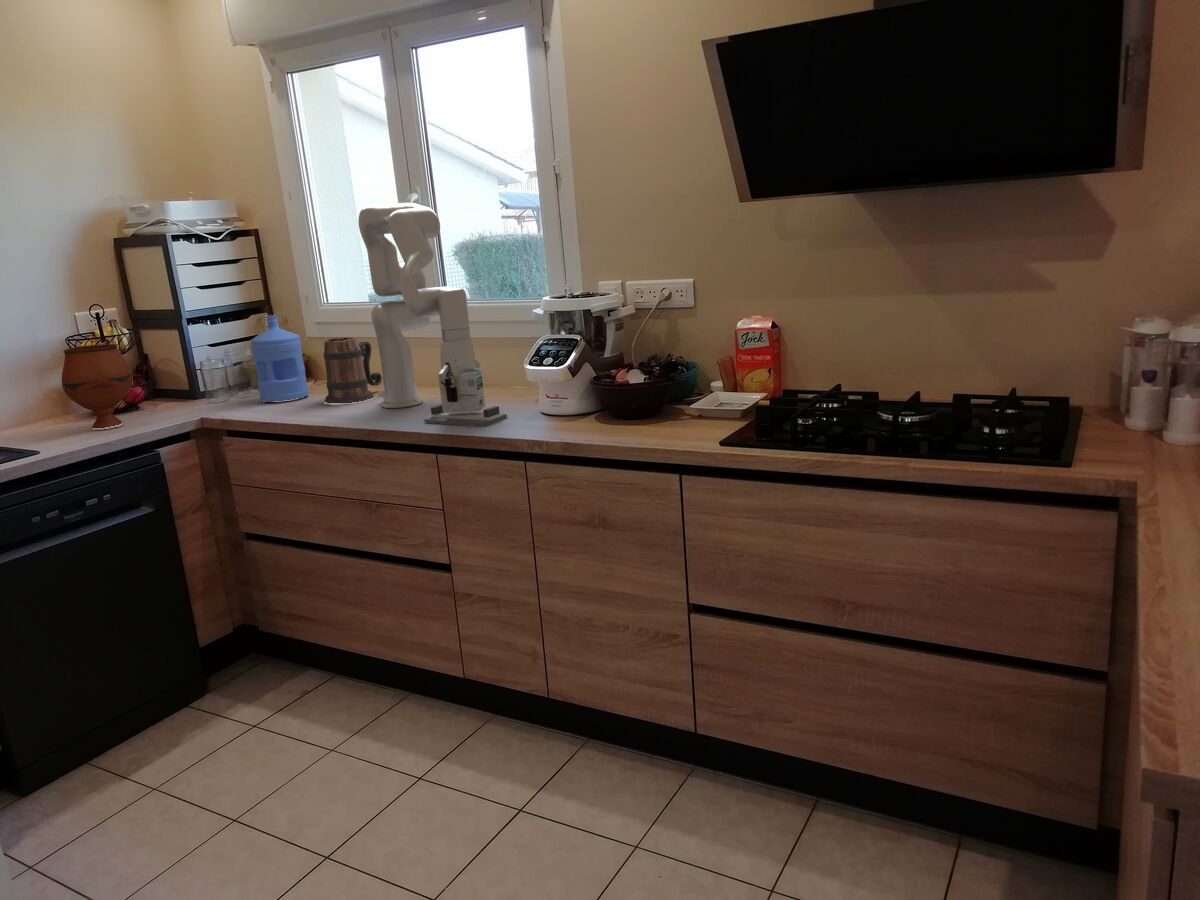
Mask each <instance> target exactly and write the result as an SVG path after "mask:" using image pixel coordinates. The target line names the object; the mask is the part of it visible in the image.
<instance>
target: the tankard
mask: <svg viewBox="0 0 1200 900" xmlns="http://www.w3.org/2000/svg"><path fill="white" fill-rule="evenodd" d="M371 357H372V345H371V344H370V342H369V341H360V342H359V341H358V338H357V337H342V338H340V337H339V338H336V337H335V338H329V339H326V340H324V349H323V359H324V364H325V374H326V383H325V385H326V388H327V395H326V396H325V399H324V401H325V402H327V403H352V402H359V401H364V400H367V399H371V398H373V397H374V396H375V395H374V394H373V392H372V391H371V390H369V385H370V386H371V387H372V386H373V387H374V386H376V387H377V386H379V385H380V384H381V383H382V381H383V379H382V378H383V376H382V374H381V373H380V372H372V373H371V369H370V367H371V366H370V360H371Z"/></svg>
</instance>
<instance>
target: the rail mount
mask: <svg viewBox="0 0 1200 900" xmlns="http://www.w3.org/2000/svg"><path fill="white" fill-rule="evenodd" d="M482 410H483V412H481V411H474V412H451V413H443V411H442V403H441V404H437V405H435V406H431V407H430V412H431V415H430V416H431V417H428V418H425V419H424V423H425V422H427V423H426V424H430V423H441V424H440V425H447V424H454V425H453V426H464V425H474V426H473V427H481V426H484V427H486V426H488V425H487V424H489V425H491V424H490V423H492V424H494V423H496V421H497V422H499V421H502V420H504V419H507V418H508V414H507V413H500V406H499V405H493V406H490V407H487V408H483V409H482ZM506 417H507V418H506ZM503 418H504V419H503ZM501 419H502V420H501ZM498 420H499V421H498ZM428 422H429V423H428ZM493 422H494V423H493ZM455 424H456V425H455ZM485 425H486V426H485Z"/></svg>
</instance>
